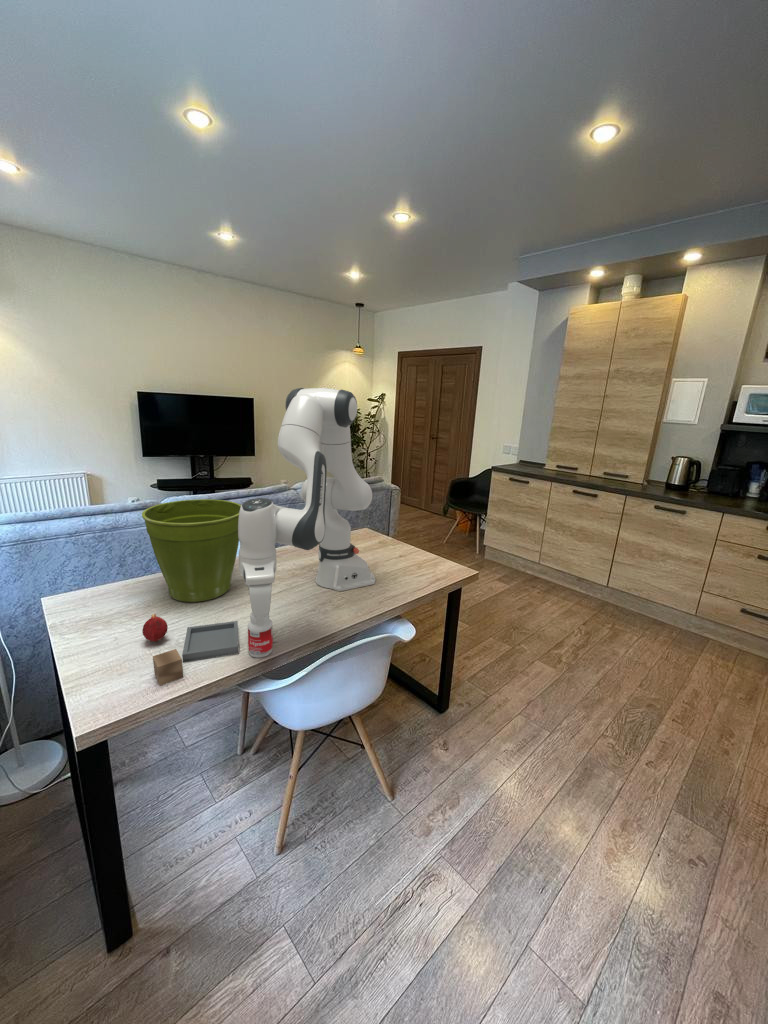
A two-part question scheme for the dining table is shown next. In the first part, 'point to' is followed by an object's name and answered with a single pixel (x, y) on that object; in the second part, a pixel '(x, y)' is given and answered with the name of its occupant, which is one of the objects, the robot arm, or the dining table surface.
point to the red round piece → (154, 628)
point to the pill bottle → (260, 637)
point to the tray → (211, 641)
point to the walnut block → (168, 667)
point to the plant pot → (194, 545)
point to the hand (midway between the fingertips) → (258, 615)
